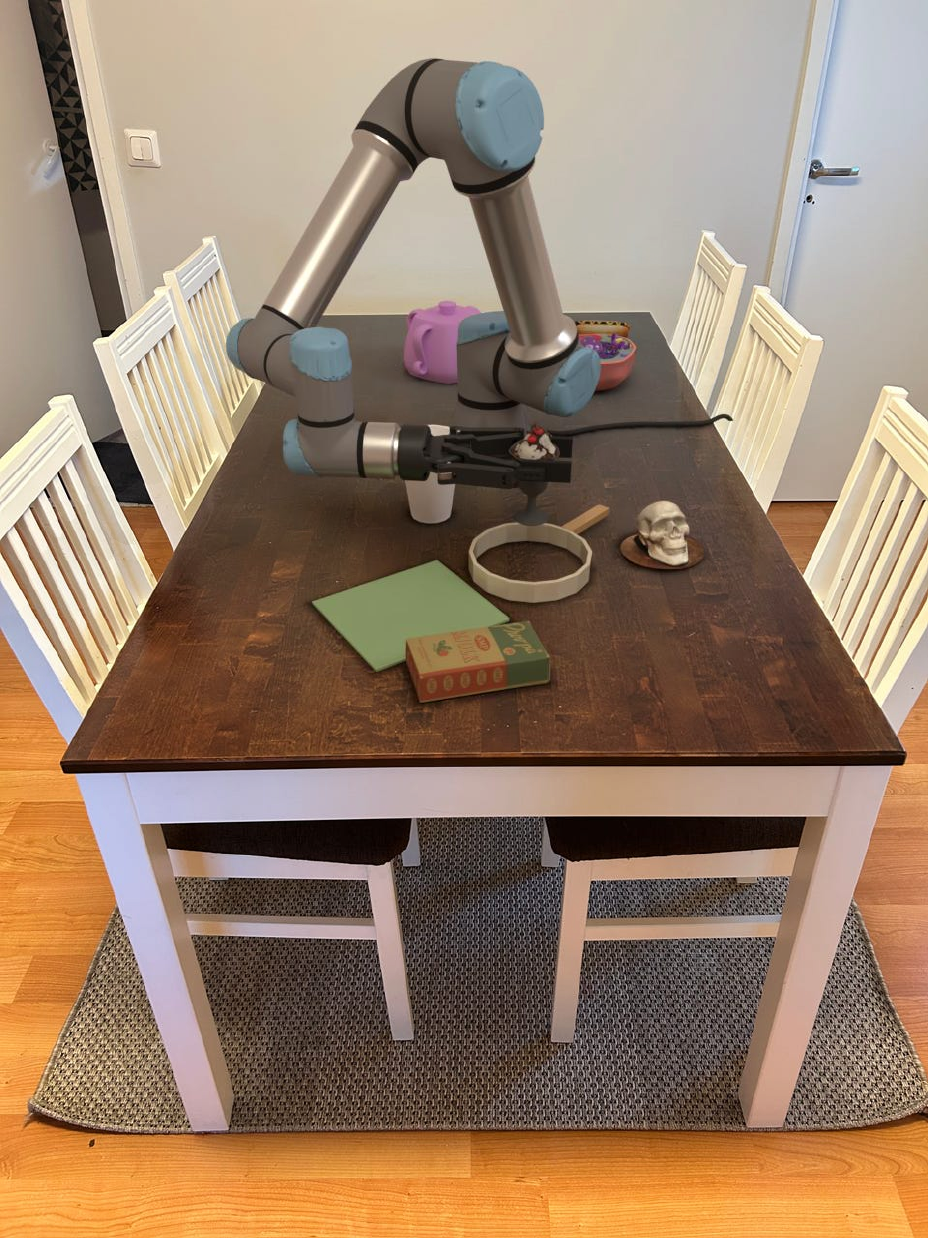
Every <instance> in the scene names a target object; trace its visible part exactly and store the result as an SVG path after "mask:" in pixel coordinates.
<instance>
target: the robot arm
mask: <svg viewBox="0 0 928 1238" xmlns="http://www.w3.org/2000/svg"><path fill="white" fill-rule="evenodd" d="M544 113H545V112H544V107H543V102H542V99H541V96H540V94H539V92H538V89H537V87H536V86H535V84H534V82H533V81H532V80H531V79H530V78H529V77H528V75H526V74H525V72H523V71H521V70H520V69H518V68H516V67H514V66H511V65H506V64H505V65H504V64H502V63H500V62H496V61H491V60H490V61H489V60H488V61H487V60H485V61H484V60H483V61H479V62H476V61H466V60H465V61H464V60H454V59H453V60H451V59H445V58H444V59H443V58H437V57H435V58H434V57H433V58H431V57H430V58H425V59H420V60H418V61H415V62H413V63H411V64H409V65H408V66H405V68H403V69H402V70H399V72H398V73H396V74H395V75H394V76H393V77H392V78H391V79H389V81H388V82H387V83H386V84H385V85H384V86H383V87H382V88H381V89H380V91H379V92H378V93H377V95H375V97H374V98H373V100H372V101H371V103H370V104H369V105H368V107H367V108H366V109H365V111H364V113H363V114H362V116H361V117H360V119H359V121H358V122H357V124H356V126H355V127H354V130H353V131H352V133H351V135H350V136H351V137H350V138H351V142H352V148H351V150H350V151H349V153H348V156H347V157H346V159H345V161H344V162H343V164H342V166H341V167H340V169H339V171H338V173H337V175H336V177H335V178H334V179H333V182H332V183H331V184H330V187H329V188H328V191H327V192H326V194H325V195H324V197H323V199H322V201H321V203H320V204H319V206H318V207H317V209H316V211H315V213H314V214H313V217H312V218H311V220H310V221H309V223H308V225H307V227H306V228H305V230H304V232H303V234H302V236H300V239H299V241H298V242H297V244H296V246H295V247H294V249H293V251H292V253H291V255H290V257H289V258H288V260H287V261H286V263H285V265H284V267H283V269H282V270H281V272H280V274H279V276H278V277H277V279H276V280H275V282H274V284H273V286H272V288H271V289H270V291H269V293H268V294H267V296H266V298H265V299H264V302H263V303H262V305H261V307H260V308H259V310H258V312H257V313H256V315H255V317H254V318H247V317H246V318H243V319H241V320H239V321H237V322H236V323H235V324H233V326H231V328H230V330H229V331H228V332H227V333H228V334H227V336H226V340H225V350H226V355H227V358H228V360H229V362H230V363H231V364H232V365H233V367H235V368H236V369H237V370H238V371H240V372H242V373H243V374H246V375H247V376H248V377H249V378H251V379H253V380H256V381H260V382H262V383H264V384H267V385H269V386H272V387H273V388H275V389H278V390H279V391H282V392H284V393H286V394H288V395H290V396H293V397H294V398H295V406H296V414H297V418H292V419H290V420H288V422H287V423H286V424H285V427H284V430H283V436H282V442H283V444H282V445H283V447H282V454H283V455H282V456H283V460H284V463H285V466H286V468H287V469H288V470H289V471H290V472H291V473H293V474H296V475H303V476H311V477H317V478H325V477H327V478H328V477H329V478H330V477H331V478H332V477H333V478H361V479H362V478H363V479H377V481H379V482H382V481H384V480H396V479H398V477H399V478H400V479H401V480H402V481H405V480H408V481H426V480H427V479H428V478H429V475H430V472H434V473H437V479H438V484H440V485H447V484H455V485H460V486H461V485H463V486H470V487H471V486H472V487H483V488H492V489H500V490H501V489H503V490H512V489H519V480H520V481H540V482H548V483H561V484H562V483H563V484H571V481H572V465H573V464H572V463H573V461H572V460H555V459H554V460H532V459H521V466H520V463H518V462H515V461H513V460H510V459H514V456H513V455H511V454H510V453H509V449H510V448H511V446H512V445H514V444H515V443H516V442H518V441H522V440H523V439H524V437H525V435H526V434H527V433H528V432H529V431H531V429H532V427H531V425H530V422H529V418H528V415H527V411H526V408H525V406H526V407H529V408H532V409H534V410H538V411H539V412H542V413H544V414H546V415H548V416H551V415H552V416H555V417H556V416H557V417H559V418H570V417H573V416H574V415H576V414H578V413H579V412H581V410H583V409H584V408H585V407H586V406H587V404H588V403H589V402H590V400H591V399H592V397H593V395H594V393H595V392H596V391H595V388H596V386H597V384H598V381H599V377H600V371H601V362H600V357H599V355H598V353H597V352H596V351H595V350H593V349H592V348H591V347H588V346H585V347H584V346H583V345H582V344H581V343H580V339H579V335H578V331H577V327H576V324H575V321H574V320H573V318H571V317H569V316H567V315H565V314H564V312H563V308H562V304H561V300H560V295H559V291H558V289H557V284H556V280H555V277H554V273H553V269H552V265H551V260H550V257H549V253H548V249H547V245H546V241H545V237H544V233H543V228H542V226H541V221H540V216H539V213H538V209H537V205H536V201H535V197H534V194H533V189H532V186H531V182H530V177H529V175H530V174H531V172H532V171H533V169H534V167H535V165H536V161H537V159H536V155H537V154H538V151H539V149H540V147H541V144H542V141H543V136H541V131H543V130H544V129H545V114H544ZM430 158H432V159H437V160H442V161H444V163H445V165H446V168H447V171H448V175H449V177H450V180H451V185H452V188H453V189H454V191H455V192H456V193H458V194H459V195H462V196H464V197H467V198H468V201H469V204H470V206H471V210H472V214H473V216H474V220H475V223H476V226H477V230H478V233H479V236H480V239H481V243H482V245H483V249H484V252H485V255H486V258H487V261H488V265H489V267H490V272H491V275H492V278H493V281H494V285H495V288H496V291H497V295H498V298H499V301H500V304H501V307H502V310H495V311H486V312H481V313H479V314H475V315H472V316H469V317H467V318H465V319H463V320H462V321H461V322H460V324H459V326H458V337H457V342H456V345H457V383H456V385H457V387H456V388H457V389H456V390H457V401H456V402H457V403H456V406H455V409H454V412H453V416H452V419H451V423H450V426H448V427H449V428H450V433H449V435H440V436H433V435H432V434H431V429H430V427H429V426H428V425H429V424H422V423H404V424H402V425H401V427H400V425H399V423H397V422H383V421H382V422H379V421H377V422H376V421H375V422H374V421H357V420H356V416H355V408H354V407H355V405H354V392H353V391H354V390H353V362H352V358H351V354H350V347H349V340H348V337H347V335H346V333H344V332H342V330H339V329H338V328H334V327H325V326H317V325H318V324H319V322H320V320H321V318H322V316H323V315H324V313H325V311H326V310H327V308H328V306H329V305H330V303H331V302H332V299H334V296H335V295H336V293H337V291H338V289H339V288H340V286H341V284H342V282H343V281H344V279H345V277H346V276H347V274H348V272H349V270H350V269H351V267H352V265H353V264H354V262H355V260H356V258H357V256H358V255H359V253H360V252H361V250H362V248H363V246H364V245H365V243H366V241H367V239H368V238H369V236H370V234H371V232H372V231H373V229H374V227H375V226H376V224H377V222H378V221H379V219H380V217H381V215H382V213H383V212H384V211H385V208H386V207H387V205H388V203H389V202H390V200H391V198H392V197H393V195H394V193H395V192H396V189H397V187H398V186H399V185H400V183H401V182H404V181H405V182H406V181H409V180H411V179H412V177H413V175H414V173H415V172H416V170H417V168H418V167H419V166H420V165H421V164H422V163H423V162H425V161H426V160H428V159H430ZM722 419H725V420H727V421H728V422H733V421H734V419H733V417H732V416H731V415H729V414H727V413H719V414H717V415H716V416H713V417H712V418H709V419H705V420H703V419H702V420H687V421H686V420H685V421H683V420H682V421H680V420H679V421H625V422H623V421H622V422H613V423H605V424H596V425H590V426H584V427H581V428H575V429H569V430H552V429H551V430H550V429H544V430H545V431H547V432H548V433H549V434H550V435H552V439H551V441H550V442H551V443H553V444H555V445H556V446H557V447H558V449H559V452H560V453H559V457H557V458H558V459H559V458H561V459H572V457H573V445H574V437H573V436H574V435H578V434H584V433H588V432H592V431H600V430H608V429H609V430H610V429H616V428H629V427H633V428H634V427H699V426H706V425H711V424H713V423H714V424H715V423H716V422H718V421H720V420H722ZM454 474H455V475H454Z"/></svg>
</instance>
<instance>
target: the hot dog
mask: <svg viewBox="0 0 928 1238" xmlns="http://www.w3.org/2000/svg"><path fill="white" fill-rule="evenodd" d="M574 322H575V324H576V327H577V331H578V335H579V334H617V335H618V336H620V337H624V338H628V337H629V331H630V329H631V327H630V326H631V325H630V324H629V323H628V322H622V321H618V320H617V321H616V320H595V319H593V320H592V319H591V320H587V319H585V320H578V321H576V320H575V321H574Z"/></svg>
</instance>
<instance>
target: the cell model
mask: <svg viewBox="0 0 928 1238" xmlns="http://www.w3.org/2000/svg"><path fill="white" fill-rule="evenodd" d="M579 339H580V343H581V344H582V345H583V346H584V347H585V346H588V347H591V348H592V349H593V350H595V351H596V352H597V353H598V355H599V357H600V362H601V371H600V377H599V381H598V384H597V386H596V388H595V391H594V392H601V391H602V392H603V391H606V390H611V389H613V388H616V387H617V386H619V385H620V384H621V383H623V382H624V381H625V380H626V379H627V378H629V377H630V375H631V372H632V370H633V368H634V364H635V361H636V355H637V345H636V344H635V343H634V342H633V340H631V339H630V338H628V337H627V338H624V337H620V336H618V335H617V334H579Z"/></svg>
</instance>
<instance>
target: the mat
mask: <svg viewBox="0 0 928 1238" xmlns="http://www.w3.org/2000/svg"><path fill="white" fill-rule="evenodd" d="M311 605H313V607H314V608H315V609H316V610H317V611H318V612H319V613H320V614H321V615H322V616H323V617H324V618H325V620H326V621H328V622H329V624H330V625H331V626H332V627H333V628H334V629H335V630H336V631H337V632H338V633H339V634H340V635H341V636H342V638H344V640H346V641H347V643H348V644H349V645H350V646H351V647H352V648H353V649H354V650H355V651H356V653H358V655H359V656H360V657H361V658H362V659H363V660H364V661H365V662H366V663H367V664H368V665H369V666H370V667H371V668H372V669H373V670H374V672H375V673H379V672H381V671H384V670H386V669H389V668H391V667H394V666H396V665H398V664H401V663H404V662H406V654H405V646H406V639H408V638H415V637H421V636H428V635H435V634H442V633H449V632H455V631H462V630H469V629H476V628H483V627H489V626H495V625H503V624H506V623H508V622H509V621H510V618H509V617H508V616H507V615H506V614H505V613H503V612H502V611H501V610H500V609H498V608H497V607H496V606H495V605H493V604H492V603H491V601H489V600H488V599H486V598H485V597H484V596H483V595H481V594H480V593H479V592H477V591H476V589H474V588H473V587H471V586H470V585H469V584H468V583H466V582H465V581H464V580H463V579H462V578H461V577H459V576H458V575H456V573H454V572H453V571H452V570H450V569H449V568H448V567H447V566H446V565H444V564H443V562H440V561H439V560H438V559H435V560H431V561H428V562H426V563H423V564H420V565H417V566H414V567H411V568H407V569H406V570H403V571H399V572H396V573H393V574H391V575H387V576H384V577H382V578H379V579H376V580H373V581H369V582H367V583H363V584H360V585H358V586H355V587H352V588H348V589H345V590H343V591H340V592H336V593H333V594H330V595H328V596H325V597H322V598H319V599H316V600H312V601H311Z"/></svg>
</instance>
